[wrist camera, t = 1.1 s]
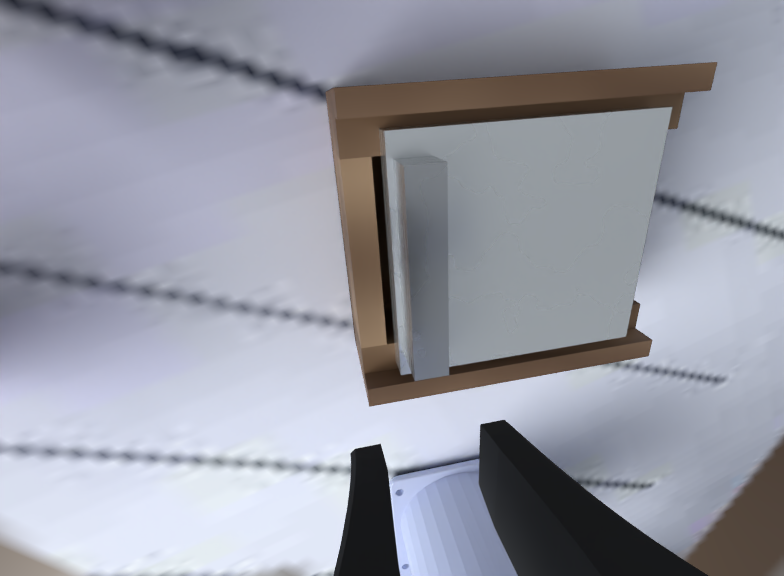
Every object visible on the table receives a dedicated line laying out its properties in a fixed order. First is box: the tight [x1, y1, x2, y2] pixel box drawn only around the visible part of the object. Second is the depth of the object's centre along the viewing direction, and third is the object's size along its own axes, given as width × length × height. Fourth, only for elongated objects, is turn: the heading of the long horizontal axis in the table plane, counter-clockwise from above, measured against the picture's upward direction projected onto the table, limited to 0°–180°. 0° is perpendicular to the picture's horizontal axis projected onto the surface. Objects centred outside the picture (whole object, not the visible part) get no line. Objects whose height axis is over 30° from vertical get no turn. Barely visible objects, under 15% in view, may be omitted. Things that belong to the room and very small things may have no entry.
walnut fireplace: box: [326, 62, 717, 407], centre depth 17 cm, size 11×12×5 cm
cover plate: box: [379, 107, 672, 381], centre depth 14 cm, size 9×9×2 cm
